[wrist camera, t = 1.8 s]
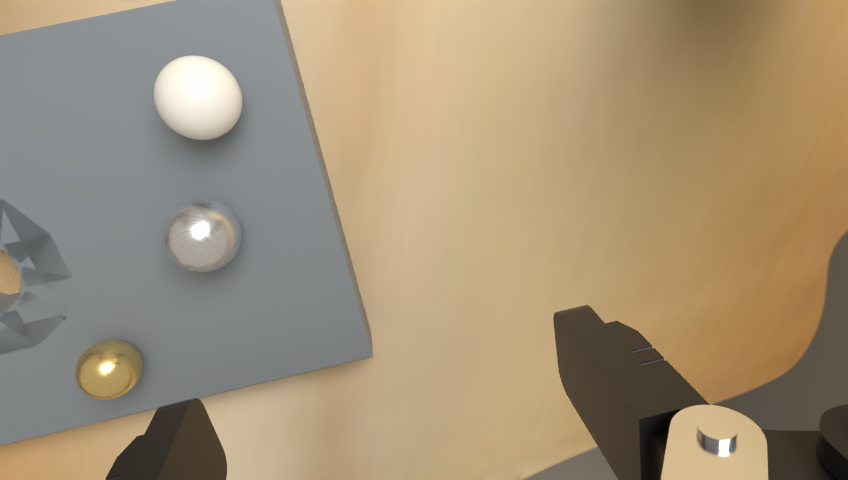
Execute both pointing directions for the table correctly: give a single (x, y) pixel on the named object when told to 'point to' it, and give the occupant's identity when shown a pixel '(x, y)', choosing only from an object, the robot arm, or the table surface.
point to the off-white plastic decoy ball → (198, 97)
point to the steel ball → (201, 235)
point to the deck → (161, 217)
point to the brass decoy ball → (108, 369)
